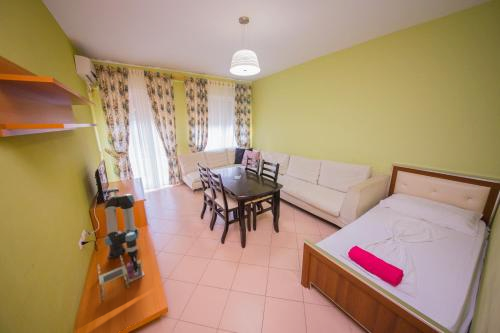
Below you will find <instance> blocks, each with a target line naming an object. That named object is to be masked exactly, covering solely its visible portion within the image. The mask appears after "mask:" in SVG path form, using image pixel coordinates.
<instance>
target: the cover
mask: <svg viewBox="0 0 500 333" xmlns="http://www.w3.org/2000/svg"><path fill="white" fill-rule="evenodd" d="M117 268H118V269H116V268H114V269H115V270H114V269H112V270H113V271H112V270H110V271H111V272H109V271H108V273H107V272H105V273H106V274H104V273H102V274H103V275H102V274H101V276H99V275H98V282H99V287H100V286H101V285H103V286H104V285H105V284H108V283H109V282H112V281H115V280H116V279H118V278H121V277H124V275H125V274H128V272H127V266H126V265H125V266H123V267H121V266H120V268H119V267H117Z"/></svg>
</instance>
